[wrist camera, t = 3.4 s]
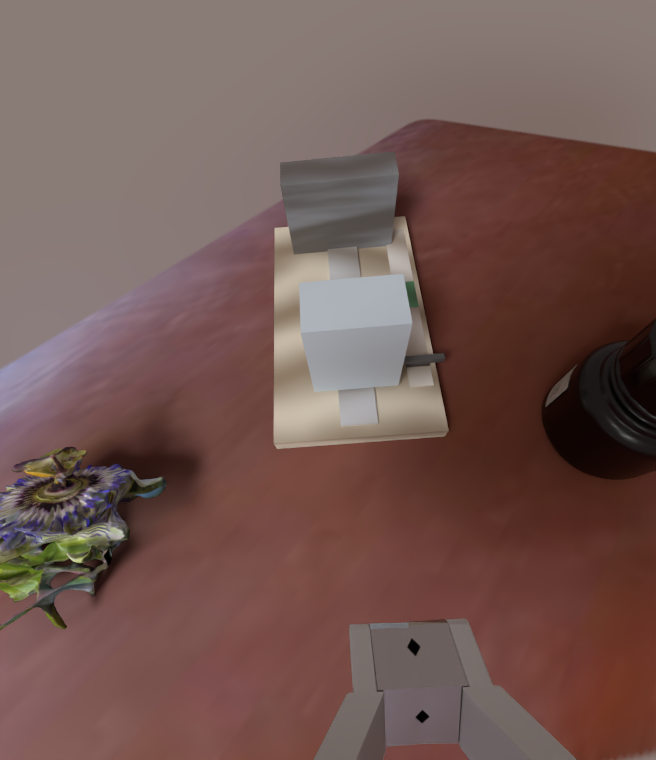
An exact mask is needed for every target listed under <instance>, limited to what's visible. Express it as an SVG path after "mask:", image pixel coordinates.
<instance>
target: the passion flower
mask: <svg viewBox="0 0 656 760" xmlns="http://www.w3.org/2000/svg"><path fill="white" fill-rule="evenodd" d="M86 454H87V451H86V450H80V451H77V449H76V448H75V447H65V448H64V449H56V450H53V451H51V452H50V453H47V454H45V455H44V456H42V457H40V458H39V459H33V460H29V461H25V462H22V463H20V464H16V465H14V466H13V467H12V471H14V472H26V473H27V474H31V475H33V477H28V476H25V477H24V478H22V479H18V481H17V482H16V483H14V484H13V485H12V486H6V488H7V492H2V493H0V590H2V591H4V592H6V593H8V594H9V597H10V598H13V599H14V600H13V601H14V602H18V601H21V600H23V599H25V598H26V597H28V596H30V595H32V594H34V593H36V592H37V593H38V595H37V597H36V601H35V603H34V604H32V605H31V606H29V607H27V608H26V609H24V610H23V611H21V612H20V613H17V614H15V615H14V616H13V617H12V618H11V619H9V620H8V621H6V622H5V623H3V624H1V625H0V630H1V629H3V628H4V627H6V626H7V625H9V624H10V623H12V622H14V621H15V620H16V619H18V618H19V617H21V616H22V615H24V614H26V613H27V612H28V611H29V610H31V609H32V608H35V607H40V608H42V610H44V611H45V612H46V616H47V617H48V618H49V619H50V620H51V621H52V623H53V624H54V625H55V626H56V627H59V628H62V629H65V628H66V627H67V626H66V625H65V623H64V621H63V620H62V618H61V617H60V615H59V614H58V612H57V610H56V608H55V606H54V600H55V597H56V596H57V595H58V594H59V593H60V592H62V591H63V590H68V589H74V590H83V591H86V592H89V593H91V596H92V597H93V596H95V589H94V582H95V581H96V580H97V579H98V577H99V574H98V573H99V572H100V571H102V570H104V569H107V567H108V566H109V565H110V563H111V560H112V555H111V553H112V552H113V550H114V549H116V548H117V547H118V546H119V545H120V543H121V542H124V541H127V540H128V538H129V533H130V529H129V526H128V525H127V524H126V522H125V521H123V519H122V518H121V517H120V515H119V513H118V511H117V504H118V502H130V501H131V500H133V499H135V498H136V497H137V496H141V497H144V498H153V497H156V496H158V495H160V494H161V493H162V492H163V490H164V489H165V488H166V485H167V483H166V481H165V479H164V478H163V477H159V478H155V479H144V480H140V479H138V478H137V476H136V475H135V473H134V472H133V471H132V470H129V469H128V470H126V469H123V468H122V467H121V466H120V465H119V464H113V465H111V466H110V467H109V468H107V467H106V466H101V467H99V466H97V467H93V466H92V465H90V466H88V467H87V468H86V469H82V470H80V468H79V466H80V464H81V462H82V460H83V456H85V455H86ZM49 542H52V543H50V544H49V545H48V546H47V547H46V548H45V549H44V550H43V547H42V544H45V543H49ZM98 550H101V551H103V552H100V551H98ZM87 552H88V553H87ZM85 553H87V554H86V555H84V554H85ZM83 555H84V556H83ZM69 559H71V560H72V561H73V562H72V564H71V565H69V566H60V565H57V564H54V562H57V561H59V562H61V561H62V562H64V561H66V560H69ZM92 559H98V560H102V561H103V562H104V563H103V564H102V565H99V566H98V567H97V568H96V569H95V568H94V567H91V566H86V565H84V564H83V562H87V561H90V560H92ZM63 571H66V572H72V573H76V574H77V575H78V576H77V577H76V578H74V579H72V580H70V581H69V582H67V583H66V584H64V585H61V586H60V587H57V588H54V589H53V588H52V587H51V581H52V580H53V578H54V577H55V575H56V574H57V573H59V572H63Z"/></svg>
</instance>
